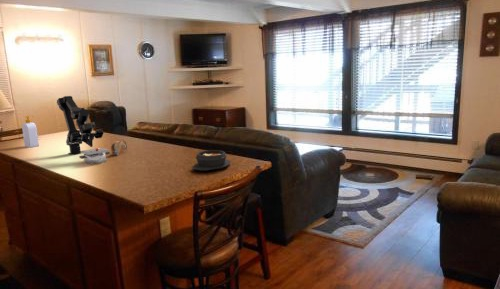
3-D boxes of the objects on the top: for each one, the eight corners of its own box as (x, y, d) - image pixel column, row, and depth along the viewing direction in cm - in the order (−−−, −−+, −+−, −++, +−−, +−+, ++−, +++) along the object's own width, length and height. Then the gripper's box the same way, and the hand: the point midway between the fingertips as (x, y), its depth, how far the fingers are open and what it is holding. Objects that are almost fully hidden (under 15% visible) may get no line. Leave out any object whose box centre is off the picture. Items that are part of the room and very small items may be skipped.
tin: (115, 156, 240) (114, 143, 238) (111, 156, 241) (109, 143, 239) (127, 151, 254) (126, 139, 253) (123, 151, 255) (122, 139, 253)
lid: (80, 153, 226) (80, 148, 226) (100, 149, 234) (100, 145, 234) (88, 154, 217) (88, 150, 216) (109, 151, 225) (108, 147, 224)
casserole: (210, 175, 190) (209, 159, 189) (183, 171, 200) (182, 155, 199) (238, 164, 211) (238, 150, 209) (212, 161, 221) (212, 147, 219)
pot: (77, 162, 226) (76, 154, 225) (105, 157, 237) (104, 150, 236) (84, 166, 217) (83, 157, 216) (113, 160, 228) (112, 152, 227)
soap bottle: (40, 145, 283) (36, 115, 278) (30, 147, 277) (26, 116, 273) (34, 144, 288) (30, 115, 283) (24, 146, 282) (20, 116, 278)
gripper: (69, 119, 222) (78, 140, 216) (100, 116, 234) (109, 136, 229) (66, 131, 229) (74, 151, 224) (97, 127, 242) (105, 147, 236)
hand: (91, 146), depth 228 cm, fingers closed
